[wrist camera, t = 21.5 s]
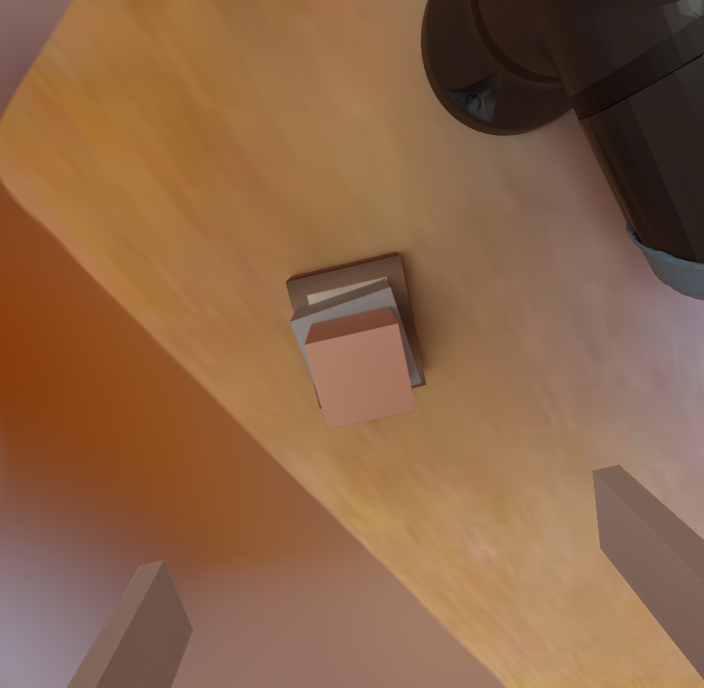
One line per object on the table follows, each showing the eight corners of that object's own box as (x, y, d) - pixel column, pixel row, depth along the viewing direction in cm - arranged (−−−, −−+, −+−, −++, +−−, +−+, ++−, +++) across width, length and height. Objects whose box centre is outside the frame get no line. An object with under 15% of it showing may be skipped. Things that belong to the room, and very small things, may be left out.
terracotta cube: (311, 323, 33) (304, 344, 28) (388, 305, 33) (398, 323, 27) (330, 395, 35) (327, 430, 29) (404, 379, 35) (416, 410, 29)
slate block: (296, 309, 38) (289, 322, 33) (384, 278, 38) (390, 287, 33) (328, 391, 40) (326, 413, 35) (412, 363, 40) (421, 382, 35)
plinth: (291, 276, 42) (285, 282, 38) (395, 252, 41) (400, 255, 37) (322, 392, 45) (320, 409, 41) (419, 370, 44) (426, 385, 40)
